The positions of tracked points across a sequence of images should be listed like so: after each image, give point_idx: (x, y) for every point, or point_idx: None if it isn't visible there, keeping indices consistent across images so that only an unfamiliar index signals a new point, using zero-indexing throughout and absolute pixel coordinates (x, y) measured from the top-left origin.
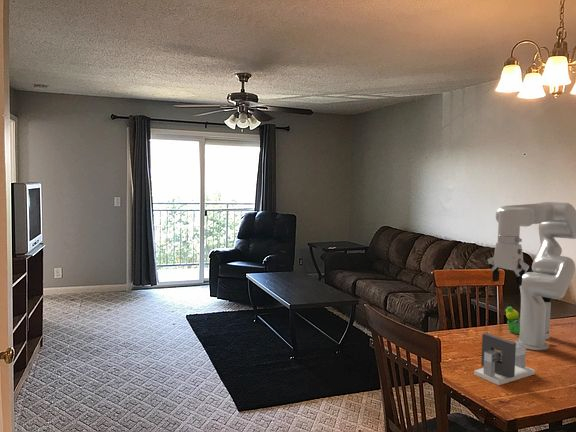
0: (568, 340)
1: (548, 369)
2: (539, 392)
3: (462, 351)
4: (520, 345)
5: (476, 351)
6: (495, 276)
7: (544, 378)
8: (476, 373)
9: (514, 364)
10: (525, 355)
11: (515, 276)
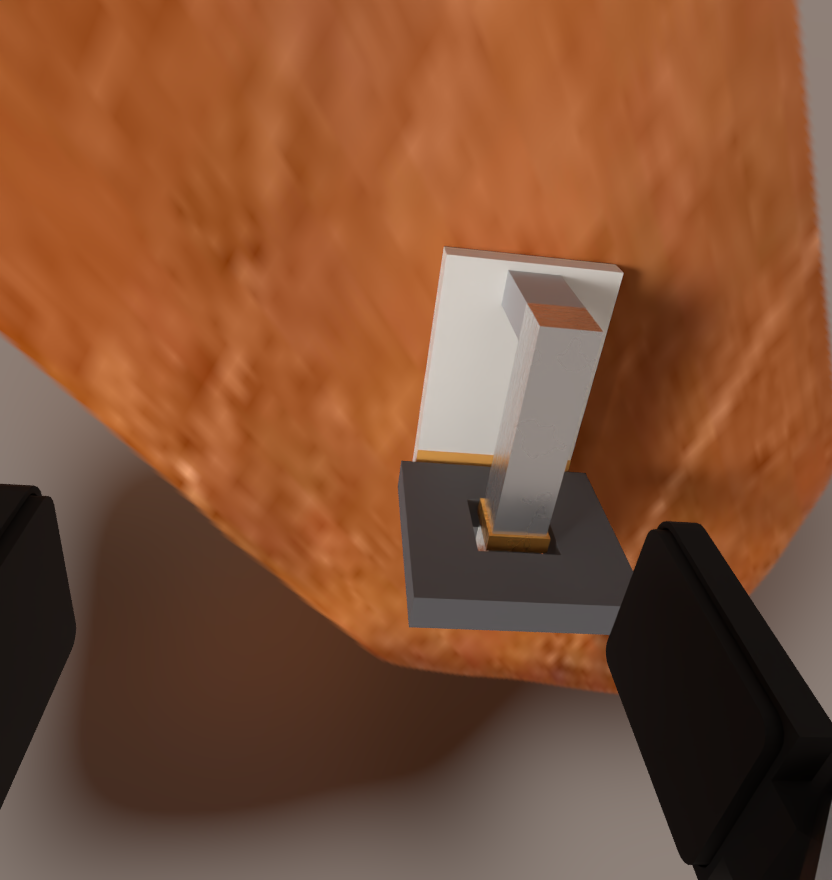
0: None
1: (656, 97)
2: (703, 457)
3: (117, 303)
4: (571, 360)
5: (160, 215)
6: (26, 711)
7: (677, 277)
8: None
9: (604, 518)
10: (581, 303)
11: (701, 874)
